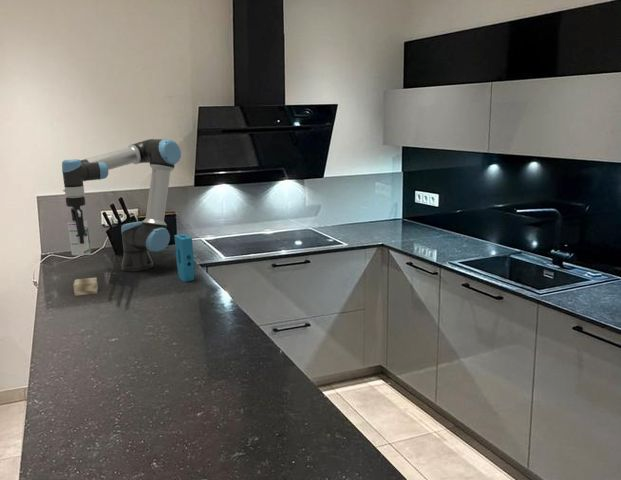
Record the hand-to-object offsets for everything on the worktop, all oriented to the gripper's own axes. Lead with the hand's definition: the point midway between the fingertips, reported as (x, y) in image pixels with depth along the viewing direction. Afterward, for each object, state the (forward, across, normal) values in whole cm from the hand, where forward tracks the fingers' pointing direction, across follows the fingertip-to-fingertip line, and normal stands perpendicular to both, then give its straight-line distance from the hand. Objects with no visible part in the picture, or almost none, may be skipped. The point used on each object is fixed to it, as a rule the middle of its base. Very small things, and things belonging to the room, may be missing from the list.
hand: (80, 249), depth 249 cm
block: (+19, +7, +43) cm, 48 cm away
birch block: (+20, 0, 0) cm, 20 cm away
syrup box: (+2, 0, 0) cm, 2 cm away
